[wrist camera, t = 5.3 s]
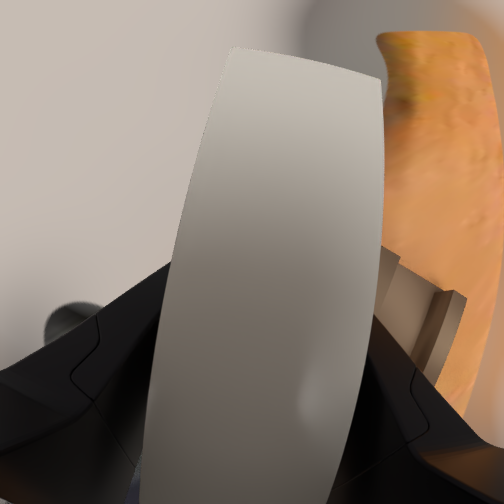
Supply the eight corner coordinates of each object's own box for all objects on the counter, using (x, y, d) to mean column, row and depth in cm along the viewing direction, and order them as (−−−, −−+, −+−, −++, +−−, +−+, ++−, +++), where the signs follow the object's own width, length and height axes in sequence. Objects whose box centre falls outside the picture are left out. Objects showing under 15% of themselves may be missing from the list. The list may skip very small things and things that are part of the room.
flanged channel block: (359, 465, 19) (376, 486, 15) (269, 435, 19) (275, 458, 16) (440, 295, 22) (469, 291, 18) (362, 249, 22) (384, 238, 18)
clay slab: (260, 439, 14) (290, 583, 4) (191, 428, 14) (138, 563, 4) (301, 208, 16) (380, 79, 6) (233, 195, 16) (231, 47, 6)
